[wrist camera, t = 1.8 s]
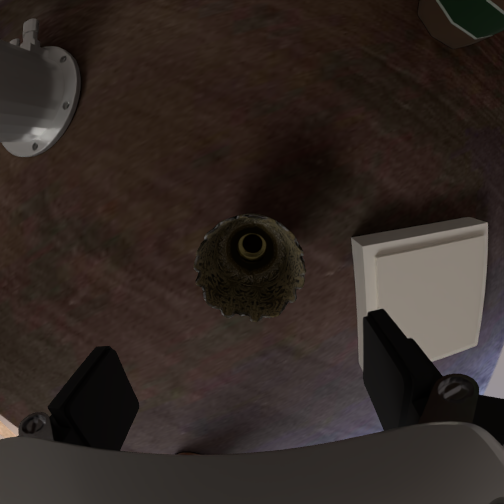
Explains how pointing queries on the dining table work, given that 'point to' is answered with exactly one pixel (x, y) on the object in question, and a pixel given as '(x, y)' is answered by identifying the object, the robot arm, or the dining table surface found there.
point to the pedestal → (425, 282)
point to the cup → (250, 267)
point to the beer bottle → (462, 20)
